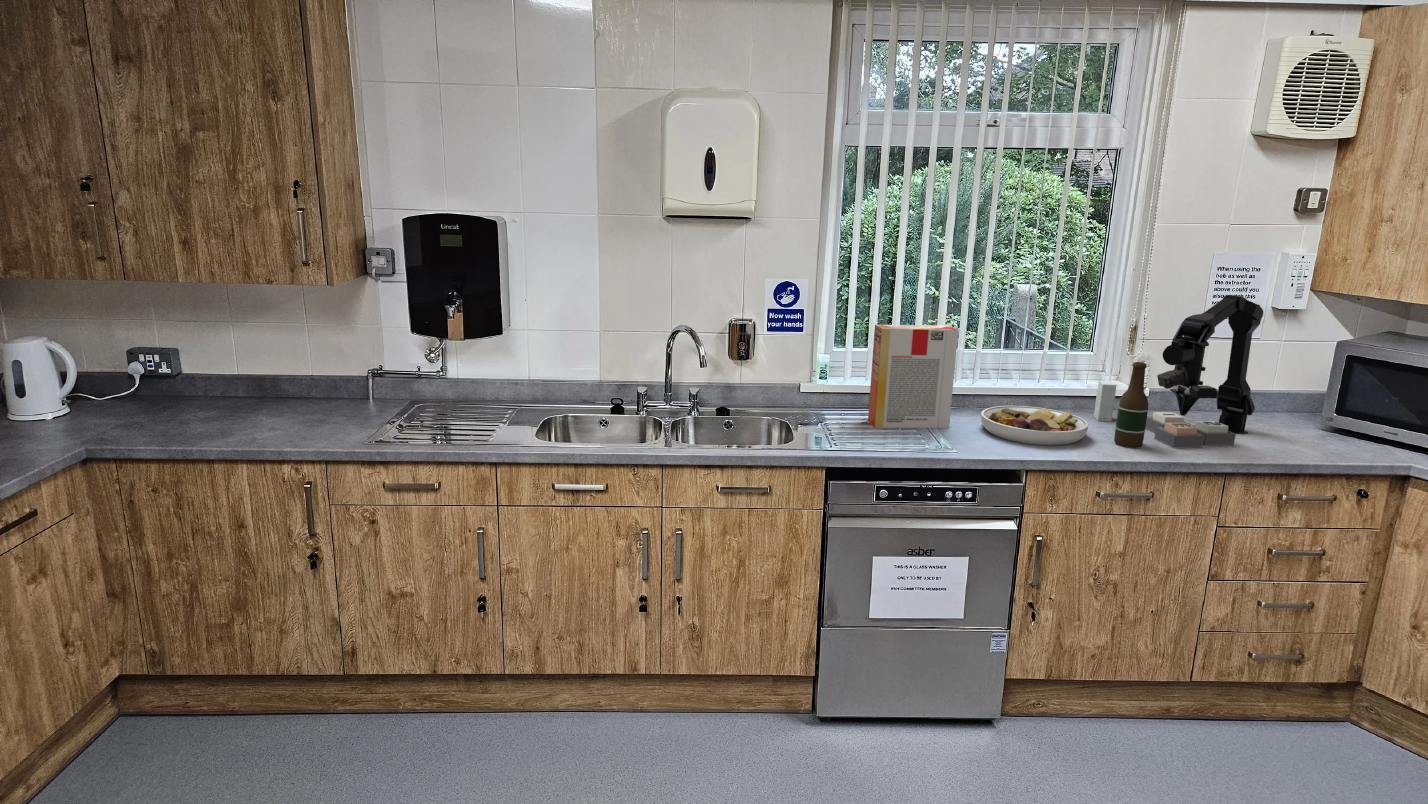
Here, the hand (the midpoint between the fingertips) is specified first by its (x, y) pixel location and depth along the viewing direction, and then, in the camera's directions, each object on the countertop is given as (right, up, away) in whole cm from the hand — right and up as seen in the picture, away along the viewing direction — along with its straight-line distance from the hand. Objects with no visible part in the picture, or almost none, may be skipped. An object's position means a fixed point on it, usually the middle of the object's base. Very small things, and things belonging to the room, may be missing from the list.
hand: (1182, 415), depth 247 cm
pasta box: (-76, -3, +15) cm, 77 cm away
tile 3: (0, -5, +1) cm, 5 cm away
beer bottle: (-16, -9, 0) cm, 18 cm away
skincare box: (-11, -2, +27) cm, 29 cm away
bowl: (-40, -6, +9) cm, 42 cm away
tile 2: (+11, -5, +4) cm, 12 cm away
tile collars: (+5, -7, +8) cm, 12 cm away
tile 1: (+3, -2, +13) cm, 14 cm away
